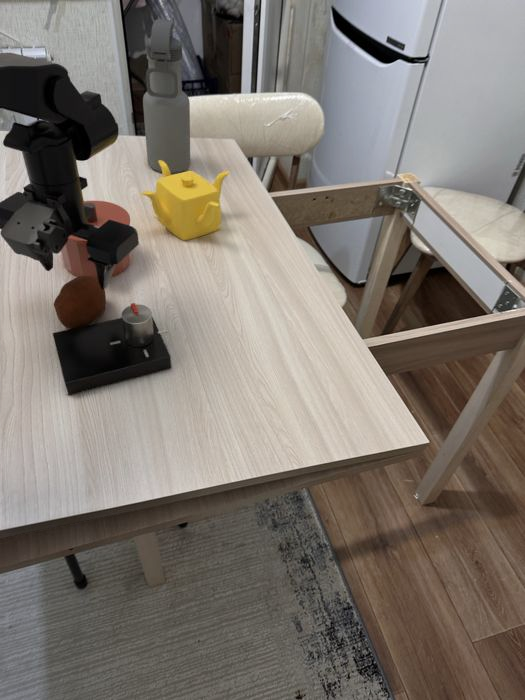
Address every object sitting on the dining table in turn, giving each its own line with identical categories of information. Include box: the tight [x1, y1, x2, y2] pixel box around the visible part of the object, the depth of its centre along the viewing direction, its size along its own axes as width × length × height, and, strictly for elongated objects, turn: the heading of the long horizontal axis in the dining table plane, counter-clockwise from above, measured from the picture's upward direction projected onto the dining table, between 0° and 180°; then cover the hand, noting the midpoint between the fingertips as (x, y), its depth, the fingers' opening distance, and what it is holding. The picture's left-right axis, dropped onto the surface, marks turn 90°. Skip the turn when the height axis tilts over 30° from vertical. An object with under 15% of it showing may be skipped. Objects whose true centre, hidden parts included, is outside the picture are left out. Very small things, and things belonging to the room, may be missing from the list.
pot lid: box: [68, 200, 131, 243], centre depth 79 cm, size 12×12×4 cm
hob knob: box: [121, 302, 154, 347], centre depth 67 cm, size 4×4×5 cm
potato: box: [53, 276, 107, 329], centre depth 72 cm, size 7×9×6 cm
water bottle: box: [142, 18, 191, 174], centre depth 103 cm, size 10×10×28 cm
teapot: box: [140, 160, 230, 241], centre depth 93 cm, size 15×14×10 cm
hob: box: [52, 316, 172, 396], centre depth 69 cm, size 15×10×3 cm, turn 115°
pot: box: [60, 240, 133, 279], centre depth 82 cm, size 11×17×7 cm
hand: (76, 278), depth 70 cm, fingers open, 9 cm apart
